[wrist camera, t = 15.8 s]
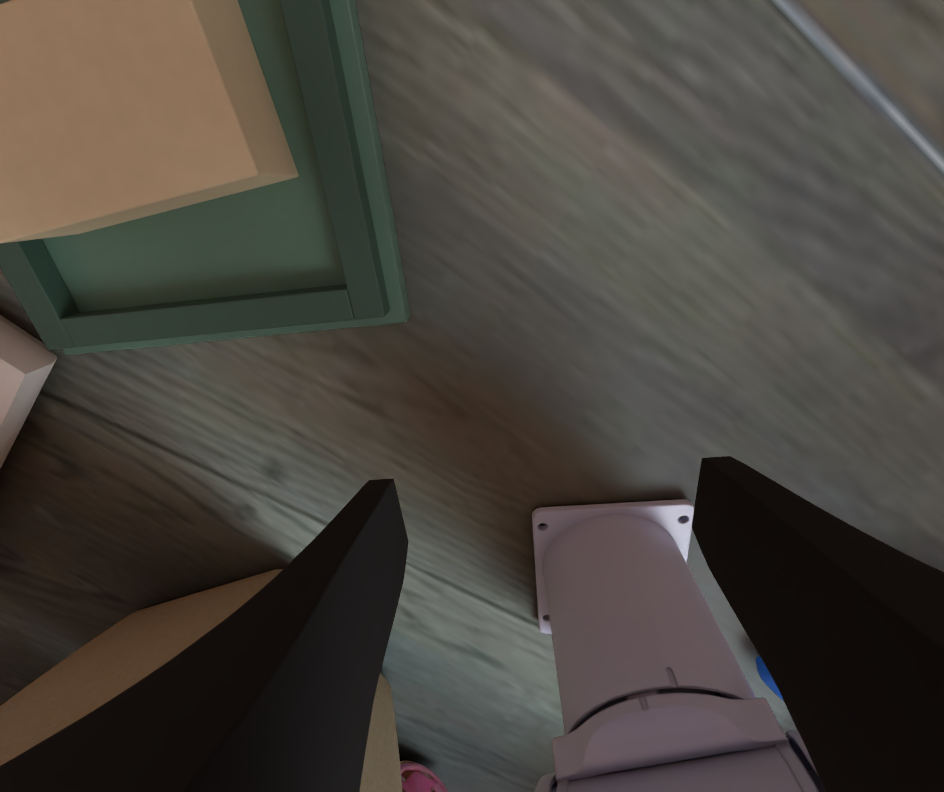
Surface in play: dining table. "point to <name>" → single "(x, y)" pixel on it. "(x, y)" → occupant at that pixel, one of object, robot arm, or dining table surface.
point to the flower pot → (146, 649)
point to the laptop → (19, 379)
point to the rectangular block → (128, 112)
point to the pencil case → (419, 778)
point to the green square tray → (244, 222)
